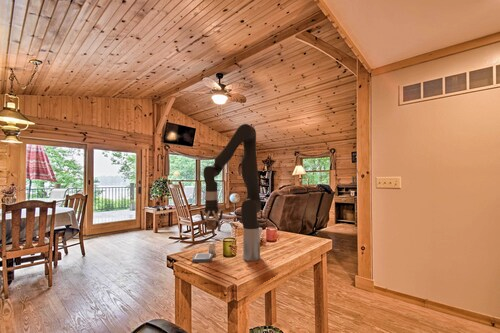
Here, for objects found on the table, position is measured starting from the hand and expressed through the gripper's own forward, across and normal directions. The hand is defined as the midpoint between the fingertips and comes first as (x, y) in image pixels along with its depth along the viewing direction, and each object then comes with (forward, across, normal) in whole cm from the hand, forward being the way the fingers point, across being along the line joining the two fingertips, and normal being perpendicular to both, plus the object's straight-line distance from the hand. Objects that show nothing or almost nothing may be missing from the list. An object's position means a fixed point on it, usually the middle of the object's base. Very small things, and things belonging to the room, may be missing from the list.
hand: (211, 227), depth 145 cm
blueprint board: (+15, +4, +9) cm, 18 cm away
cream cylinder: (+15, 0, 0) cm, 15 cm away
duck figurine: (+16, -28, -23) cm, 40 cm away
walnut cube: (+1, 0, 0) cm, 1 cm away
